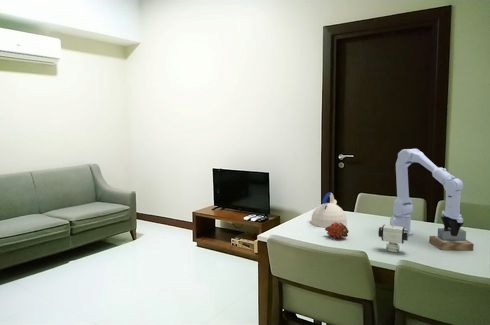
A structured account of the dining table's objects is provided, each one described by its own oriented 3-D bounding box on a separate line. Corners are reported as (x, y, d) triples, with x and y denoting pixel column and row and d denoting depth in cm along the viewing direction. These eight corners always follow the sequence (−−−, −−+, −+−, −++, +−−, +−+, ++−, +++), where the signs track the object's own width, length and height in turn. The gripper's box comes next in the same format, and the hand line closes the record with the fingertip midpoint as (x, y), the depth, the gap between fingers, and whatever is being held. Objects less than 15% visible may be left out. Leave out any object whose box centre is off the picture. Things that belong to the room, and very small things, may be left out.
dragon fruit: (349, 243, 168) (326, 242, 175) (352, 230, 174) (329, 229, 180) (344, 232, 164) (321, 232, 171) (347, 218, 170) (324, 219, 176)
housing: (442, 240, 157) (443, 229, 156) (437, 237, 162) (438, 226, 161) (465, 241, 156) (466, 229, 156) (459, 237, 161) (460, 226, 161)
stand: (440, 249, 154) (441, 242, 154) (429, 241, 165) (429, 235, 165) (473, 250, 153) (473, 243, 153) (459, 242, 164) (459, 235, 164)
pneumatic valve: (379, 247, 158) (380, 221, 157) (407, 251, 153) (408, 225, 151) (377, 250, 154) (378, 224, 153) (406, 255, 148) (407, 228, 147)
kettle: (351, 221, 202) (352, 191, 201) (340, 230, 185) (341, 197, 183) (318, 217, 213) (318, 188, 211) (305, 225, 196) (305, 193, 194)
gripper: (471, 208, 150) (469, 239, 151) (453, 201, 164) (451, 229, 166) (454, 208, 150) (452, 238, 152) (437, 201, 165) (436, 229, 166)
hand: (451, 234), depth 159 cm, fingers closed on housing, 5 cm apart
